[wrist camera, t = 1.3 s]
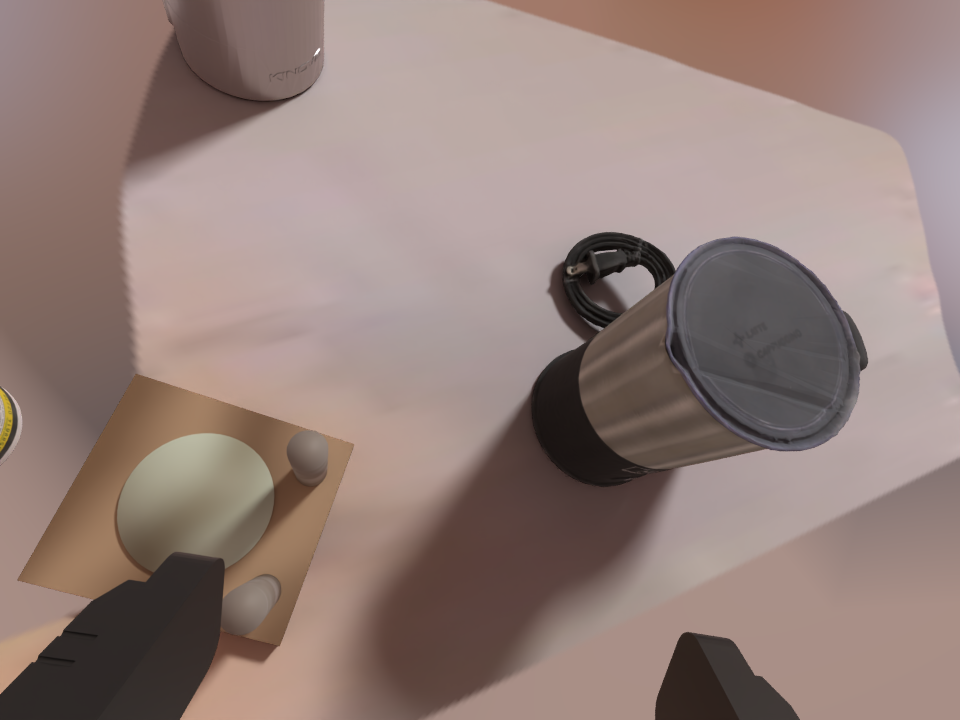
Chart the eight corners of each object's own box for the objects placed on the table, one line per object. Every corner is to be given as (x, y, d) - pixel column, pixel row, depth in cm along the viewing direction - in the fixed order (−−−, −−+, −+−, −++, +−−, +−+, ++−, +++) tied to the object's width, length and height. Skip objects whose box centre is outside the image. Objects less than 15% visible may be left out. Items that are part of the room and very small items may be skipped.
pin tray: (29, 578, 23) (-105, 596, 16) (142, 379, 27) (75, 320, 20) (281, 642, 25) (263, 684, 18) (353, 447, 29) (363, 416, 22)
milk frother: (573, 515, 31) (761, 497, 18) (455, 295, 34) (542, 134, 20) (726, 418, 37) (958, 347, 23) (615, 235, 39) (766, 77, 26)
